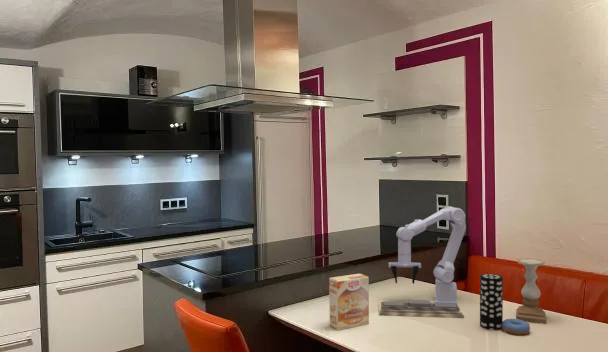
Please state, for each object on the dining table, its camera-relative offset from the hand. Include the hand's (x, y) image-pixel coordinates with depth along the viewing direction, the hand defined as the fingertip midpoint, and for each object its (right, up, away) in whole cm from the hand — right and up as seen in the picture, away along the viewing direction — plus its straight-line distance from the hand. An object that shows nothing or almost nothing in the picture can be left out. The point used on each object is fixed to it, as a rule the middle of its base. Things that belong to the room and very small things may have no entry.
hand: (404, 282), depth 221 cm
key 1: (-7, -8, -10) cm, 15 cm away
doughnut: (+35, -11, -37) cm, 52 cm away
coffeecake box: (-28, -11, -27) cm, 40 cm away
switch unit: (+4, -10, -11) cm, 15 cm away
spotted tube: (+27, -10, -32) cm, 43 cm away
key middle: (+4, -7, -11) cm, 14 cm away
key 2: (+15, -8, -13) cm, 21 cm away
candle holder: (+47, -10, -23) cm, 53 cm away
